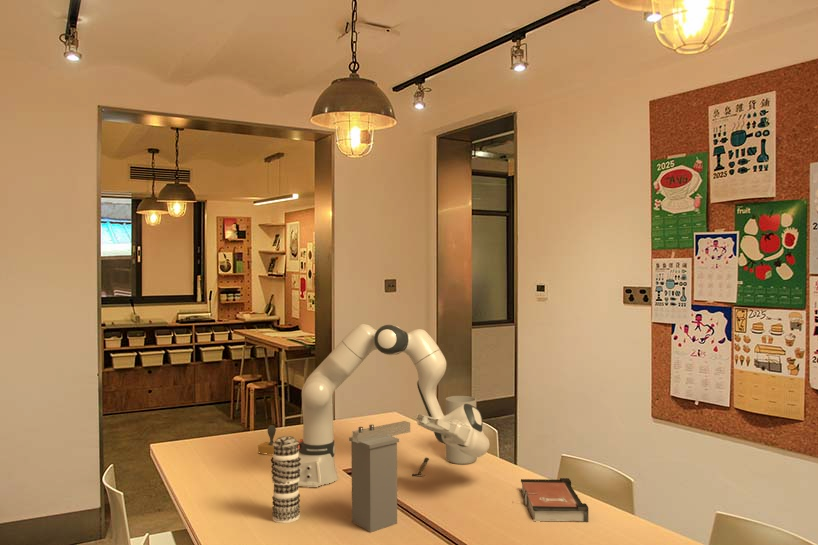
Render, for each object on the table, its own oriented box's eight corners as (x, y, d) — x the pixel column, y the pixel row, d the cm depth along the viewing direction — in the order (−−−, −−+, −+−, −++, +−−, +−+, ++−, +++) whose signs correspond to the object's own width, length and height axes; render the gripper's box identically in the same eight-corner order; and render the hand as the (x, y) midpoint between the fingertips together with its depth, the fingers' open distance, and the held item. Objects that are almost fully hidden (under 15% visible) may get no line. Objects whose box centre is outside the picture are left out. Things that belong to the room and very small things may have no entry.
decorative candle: (274, 525, 185) (273, 443, 184) (268, 514, 193) (268, 436, 193) (304, 520, 188) (303, 440, 188) (297, 510, 197) (296, 433, 197)
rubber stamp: (285, 452, 260) (285, 424, 259) (277, 456, 254) (277, 427, 254) (265, 450, 263) (265, 422, 263) (257, 453, 258) (257, 425, 258)
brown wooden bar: (358, 443, 181) (358, 429, 181) (352, 441, 183) (352, 427, 183) (410, 432, 193) (410, 418, 193) (404, 430, 196) (404, 417, 196)
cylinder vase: (468, 466, 239) (467, 403, 239) (440, 461, 246) (440, 400, 246) (481, 458, 250) (481, 397, 250) (454, 453, 256) (454, 394, 256)
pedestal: (370, 533, 179) (369, 445, 179) (349, 521, 187) (349, 437, 187) (399, 523, 186) (399, 438, 186) (378, 512, 194) (378, 431, 194)
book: (518, 492, 213) (518, 477, 213) (568, 492, 212) (568, 478, 212) (531, 523, 187) (531, 506, 187) (588, 523, 186) (588, 507, 186)
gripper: (437, 419, 216) (410, 404, 209) (478, 429, 200) (451, 415, 193) (430, 435, 214) (403, 422, 207) (471, 448, 199) (444, 434, 191)
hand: (427, 418), depth 200 cm, fingers open, 8 cm apart
